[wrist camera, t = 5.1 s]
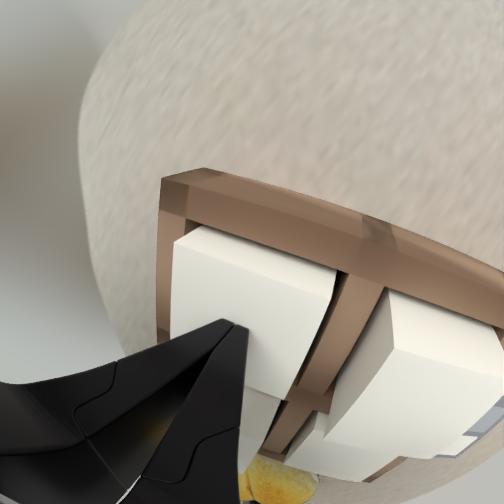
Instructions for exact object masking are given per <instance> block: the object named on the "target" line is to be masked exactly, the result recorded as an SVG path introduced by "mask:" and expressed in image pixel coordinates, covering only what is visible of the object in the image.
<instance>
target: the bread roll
mask: <svg viewBox="0 0 504 504" xmlns="http://www.w3.org/2000/svg"><path fill="white" fill-rule="evenodd" d="M238 479H239V493H240V501H249V500H256V501H258V502H259V503H261V504H303V503H304V502H306V501H308V500H309V499H310V498H311V497H312V496H313V494H314V493H315V491H316V490H317V487H318V483H319V477H318V475H317V474H315V473H311V472H308V471H304V470H300V469H297V468H294V467H290V466H287V465H284V463H283V462H280V461H277V460H274V459H271V458H268V457H265V456H262V455H260V454H257V453H256V455H255V456H254V458H253V459H252V461H251V463H250V464H249V466H248V467H247V469H246V470H245V472H244V473H243V474H240V473H238Z"/></svg>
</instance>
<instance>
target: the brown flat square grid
mask: <svg viewBox="0 0 504 504" xmlns="http://www.w3.org/2000/svg"><path fill="white" fill-rule="evenodd" d="M203 224H205V225H208V226H211V227H214V228H217V229H220V230H223V231H226V232H229V233H232V234H235V235H238V236H241V237H244V238H247V239H250V240H253V241H256V242H259V243H262V244H265V245H267V246H270V247H273V248H276V249H279V250H282V251H285V252H288V253H291V254H294V255H297V256H300V257H303V258H306V259H309V260H311V261H314V262H317V263H320V264H323V265H326V266H329V267H332V268H335V269H337V270H340V271H341V274H340V276H339V279H338V281H337V284H336V286H335V289H334V291H333V294H332V296H331V300H330V302H329V305H328V307H327V310H326V312H325V314H324V317H323V319H322V321H321V324H320V326H319V328H318V330H317V333H316V335H315V337H314V339H313V341H312V344H311V346H310V348H309V350H308V352H307V354H306V356H305V359H304V361H303V363H302V365H301V367H300V369H299V371H298V373H297V375H296V377H295V379H294V381H293V383H292V385H291V387H290V389H289V391H288V393H287V395H286V397H285V399H284V400H283V402H282V404H281V405H280V407H279V409H278V411H277V412H276V413H275V415H274V418H273V420H272V423H271V425H270V427H269V430H268V432H267V434H266V437H265V439H264V441H263V443H262V445H261V447H260V448H259V450H258V452H257V454H260V455H262V456H265V457H268V458H271V459H274V460H277V461H280V462H283V463H284V461H285V458H286V456H287V453H288V450H289V447H290V445H291V442H292V439H293V437H294V435H295V434H296V433H297V431H298V430H299V429H300V427H301V426H302V425H303V423H304V422H305V421H306V419H307V418H308V416H309V415H310V414H311V412H312V411H313V410H316V411H320V412H323V413H326V414H329V412H330V408H331V404H332V399H333V394H334V390H335V385H336V380H337V374H338V372H339V371H340V369H341V368H342V366H343V364H344V363H345V361H346V359H347V358H348V354H349V353H350V351H351V349H352V348H353V346H354V344H355V342H356V340H357V339H358V337H359V335H360V333H361V331H362V329H363V328H364V326H365V324H366V322H367V320H368V318H369V316H370V314H371V312H372V310H373V308H374V306H375V304H376V302H377V300H378V298H379V296H380V294H381V292H382V290H383V288H384V286H386V287H389V288H392V289H395V290H397V291H400V292H403V293H406V294H409V295H411V296H414V297H417V298H420V299H423V300H425V301H428V302H431V303H434V304H436V305H439V306H442V307H445V308H447V309H450V310H453V311H456V312H458V313H461V314H464V315H467V316H469V317H472V318H475V319H478V320H480V321H483V322H486V323H488V324H491V325H492V327H493V329H494V331H495V333H496V335H497V337H498V339H499V341H500V344H501V346H502V348H503V350H504V272H502V271H500V270H498V269H496V268H494V267H492V266H490V265H488V264H485V263H483V262H481V261H479V260H477V259H475V258H472V257H470V256H468V255H466V254H464V253H461V252H459V251H457V250H454V249H452V248H450V247H447V246H445V245H443V244H440V243H438V242H436V241H433V240H431V239H428V238H426V237H423V236H421V235H418V234H416V233H413V232H411V231H408V230H406V229H403V228H400V227H398V226H395V225H392V224H390V223H387V222H384V221H382V220H379V219H376V218H373V217H370V216H368V215H365V214H362V213H359V212H356V211H353V210H350V209H347V208H344V207H341V206H338V205H335V204H332V203H329V202H326V201H323V200H320V199H317V198H313V197H310V196H307V195H304V194H300V193H297V192H294V191H290V190H287V189H284V188H280V187H277V186H273V185H270V184H266V183H262V182H259V181H255V180H251V179H247V178H244V177H240V176H236V175H232V174H228V173H224V172H220V171H216V170H212V169H208V168H199V169H195V170H191V171H187V172H183V173H179V174H175V175H171V176H167V177H163V178H161V189H160V201H159V216H158V233H157V260H156V321H157V345H158V344H161V343H163V342H166V341H168V340H170V315H171V283H172V263H173V247H174V242H175V241H177V240H178V239H180V238H182V237H183V236H185V235H187V234H188V233H190V232H192V231H193V230H195V229H197V228H198V227H200V226H202V225H203ZM406 458H408V457H404V456H398V457H397V458H395V459H394V460H393V461H391V462H390V463H388V464H387V465H385V466H384V467H383V468H381V469H380V470H378V471H377V472H375V473H374V474H372V475H370V476H369V477H367V478H366V479H364V480H363V481H362V482H368V483H370V482H372V481H373V480H375V479H377V478H378V477H380V476H381V475H383V474H384V473H386V472H388V471H389V470H391V469H392V468H394V467H395V466H397V465H398V464H399V463H401V462H402V461H404V460H405V459H406Z"/></svg>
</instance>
